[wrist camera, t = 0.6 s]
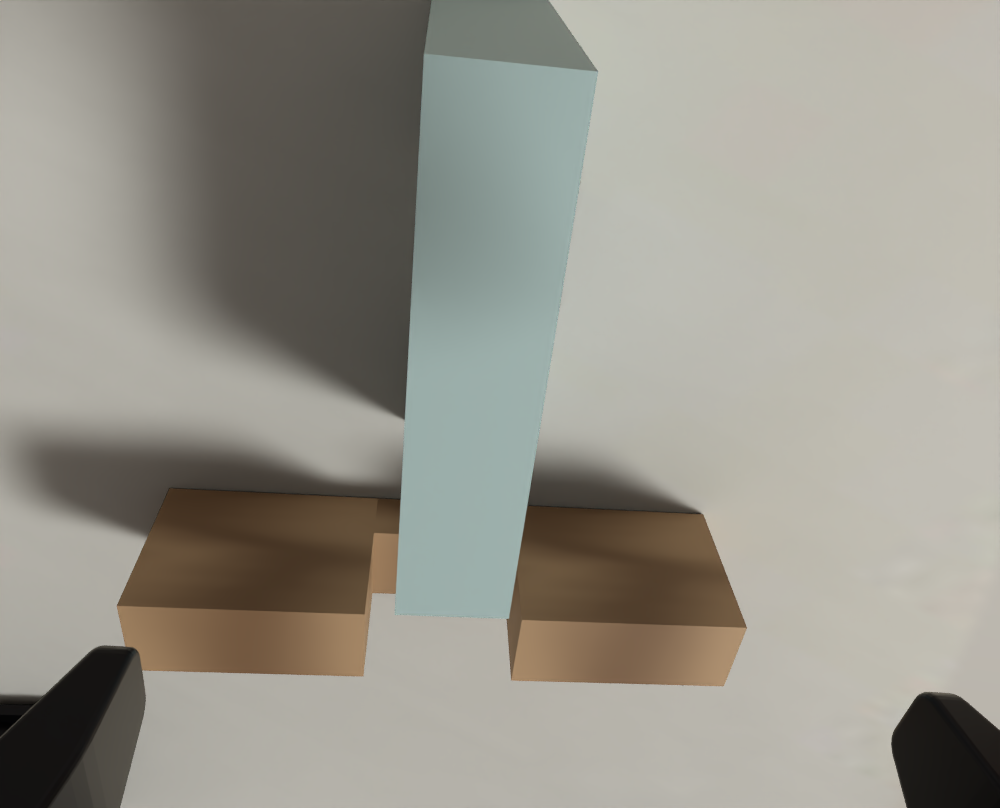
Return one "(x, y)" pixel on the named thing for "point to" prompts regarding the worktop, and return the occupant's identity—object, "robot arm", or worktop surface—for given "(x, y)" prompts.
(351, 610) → the slot rail
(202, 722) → the worktop surface
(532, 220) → the cross plate
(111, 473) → the worktop surface
